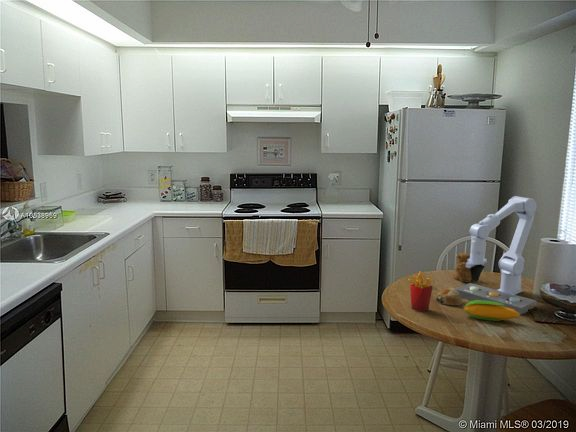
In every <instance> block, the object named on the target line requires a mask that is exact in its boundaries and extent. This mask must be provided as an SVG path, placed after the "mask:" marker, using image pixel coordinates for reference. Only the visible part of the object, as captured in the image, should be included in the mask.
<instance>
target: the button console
mask: <svg viewBox="0 0 576 432" xmlns="http://www.w3.org/2000/svg"><path fill="white" fill-rule="evenodd" d="M471 286H475V287H478V288H479V291H477V292H476V291H473V290H469V289H470V287H471ZM453 289H455V290H457V291H458V292H459V293H460V297H461V299H465V300H469V301H474V300H482V301H492V302H498V303H502V304H505V305H499V306H503V307H507V308H510V309H514V310H515V311H516V312H518V313H519V314H520V316H522V315H524V314H526V313H528V312H529V311H528V309H529V307H530V306H533V305H536V306H537V302H538V301H537V299H536V300H535V299H532V298H528V297H525V296H524V297H523V296H521V295H518V294H515V295H513V294H510V293H506V292H502V291H498V289H495V288H491V287H487V286H484V285H483V286H482V285H479V284H476V283H472V282H468V283H467V284H463V285H461V286H459V287H455V288H453ZM489 292H497V293H499V296H497V297H494V296H491V295H489ZM510 297H516V298H519V299H520V302H518V303H516V302H512V301H509V298H510Z"/></svg>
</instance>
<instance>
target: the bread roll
mask: <svg viewBox="0 0 576 432" xmlns="http://www.w3.org/2000/svg"><path fill="white" fill-rule="evenodd" d="M435 300H436V301H437V302H438V303H440V304H442V305H445V306H458V305H461V304H462V302H461V301H462V298H461V297H460V293H459V292H458V291H457V290H455V289H454V288H453V287H445V288H443V289H441V290H440V291H439V292H438V293H436V299H435Z"/></svg>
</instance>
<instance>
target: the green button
mask: <svg viewBox="0 0 576 432" xmlns="http://www.w3.org/2000/svg"><path fill="white" fill-rule="evenodd" d="M469 290H473V291H476V292H477V291H479V288H478V287H475V286H471V287H470V289H469Z"/></svg>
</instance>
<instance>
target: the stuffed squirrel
mask: <svg viewBox="0 0 576 432" xmlns="http://www.w3.org/2000/svg"><path fill="white" fill-rule="evenodd" d="M468 259H470V254H467V253H465V252H461V253H459V254H456V258H455V260H456V261H457V263H456V264H455V266H454V267H455V268H454V269H455V271H454V273H451V277H452V278H453V279H455V280H457V281H460V282H462V283H471V281H472V277H471V272H470V270H469V268H467V267H466V263H467V262H468V261H467V260H468Z"/></svg>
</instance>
